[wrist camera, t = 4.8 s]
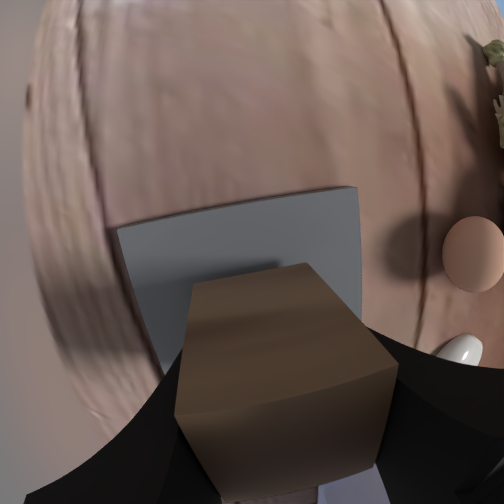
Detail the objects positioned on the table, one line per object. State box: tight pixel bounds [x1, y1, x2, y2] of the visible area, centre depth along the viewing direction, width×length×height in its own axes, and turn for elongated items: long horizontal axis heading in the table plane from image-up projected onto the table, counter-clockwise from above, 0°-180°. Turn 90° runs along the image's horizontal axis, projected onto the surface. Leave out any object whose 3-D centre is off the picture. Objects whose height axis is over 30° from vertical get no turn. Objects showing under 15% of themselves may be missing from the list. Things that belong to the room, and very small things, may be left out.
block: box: [174, 262, 399, 503], centre depth 8 cm, size 4×4×6 cm
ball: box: [442, 216, 504, 293], centre depth 11 cm, size 4×4×4 cm
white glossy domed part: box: [436, 333, 482, 366], centre depth 15 cm, size 5×5×1 cm
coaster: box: [117, 186, 362, 374], centre depth 12 cm, size 9×9×1 cm
